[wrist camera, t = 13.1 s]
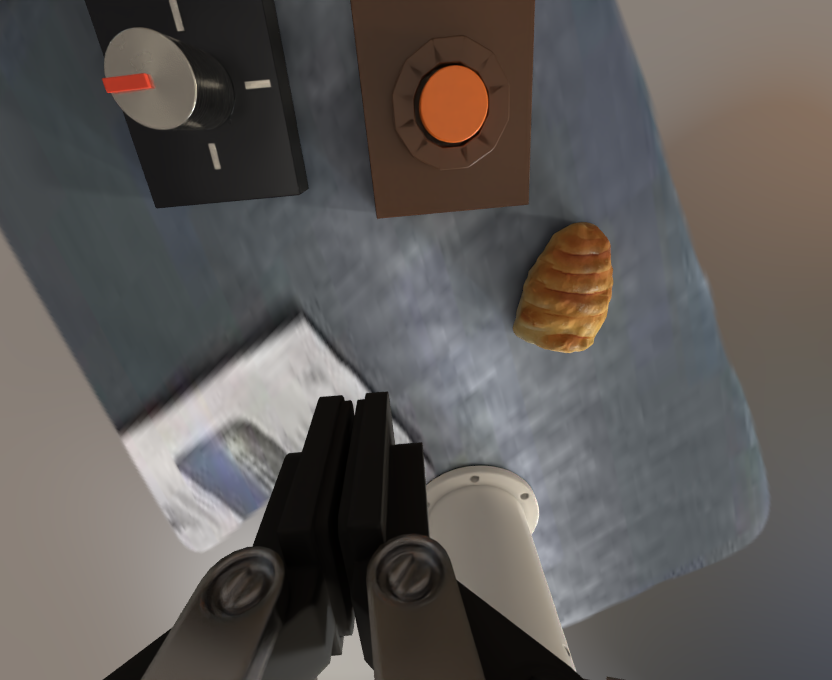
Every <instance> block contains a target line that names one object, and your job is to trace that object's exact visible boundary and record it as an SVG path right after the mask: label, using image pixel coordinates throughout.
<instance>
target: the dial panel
mask: <svg viewBox="0 0 832 680" xmlns="http://www.w3.org/2000/svg"><path fill="white" fill-rule="evenodd" d="M85 2H86V5H87V8H88V11H89V14H90V17H91V20H92V23H93V26H94V29H95V32H96V34H97V37H98V40H99V43H100V46H101V49H102V52H103V55H104V58H105V53H106V50H107V47H108V45H109V44H110V42H111V41H112V39H113V38H114V37H115V36H116V35H117V34H119V33H120V32H122V31H124V30H126V29H129V28H134V27H143V28H149V29H153V30H155V31H158V32H160V33H162V34H165V35H167V36H170V37H172V38H175V39H177V40H179V41H182V42H184V43H187V44H189V45H192V46H194V47H196V48H199V49H201V50H204V51H206V52H207V53H209V54H211V55H212V56H213V57H215V58H216V59H217V60H218V61H219V62H220V63H221V64H222V66H223V67H224V69H225V70H226V72H227V73H228V75H229V78H230V80H231V83H232V86H233V91H234V104H233V109H232V112H231V114H230V116H229V118H228V119H227V120H226V121H225V122H224V123H223V124H222V125H221V126H219V127H217V128H215V129H211V130H156V129H152V128H148V127H146V126H143V125H141V124H139V123H138V122H136V121H135V120H133V119H132V118H131V117H129V116H128V115H127V114H126V113H125V112H124V111H123V113H124V116H125V119H126V122H127V125H128V128H129V131H130V134H131V137H132V140H133V142H134V145H135V148H136V151H137V154H138V157H139V160H140V163H141V166H142V169H143V172H144V175H145V178H146V180H147V183H148V186H149V189H150V192H151V195H152V198H153V201H154V204H155V207H156V208H166V207H176V206H187V205H198V204H208V203H219V202H230V201H240V200H251V199H262V198H273V197H283V196H294V195H300V194H302V193H303V192H305V191H306V190H308V189H309V187H308V182H307V176H306V171H305V165H304V160H303V155H302V149H301V144H300V138H299V133H298V128H297V122H296V117H295V112H294V106H293V101H292V95H291V90H290V85H289V79H288V74H287V68H286V63H285V58H284V52H283V47H282V41H281V36H280V31H279V25H278V20H277V15H276V9H275V4H274V0H85Z"/></svg>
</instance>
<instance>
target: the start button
mask: <svg viewBox="0 0 832 680" xmlns="http://www.w3.org/2000/svg"><path fill="white" fill-rule="evenodd" d="M487 109H488V96H487V91H486V88H485V86H484V83H483V82H482V80H481V78H480V77H479V76H478V75H477V74H476V73H475V72H474V71H472V70H471V69H469V68H467V67H464V66H459V65H451V66H447V67H444V68H442V69H440V70H438V71H437V72H435V73H434V74H433V75H432V76H431V77H430V78H429V80H428V81H427V83H426V84H425V86H424V88H423V90H422V92H421V95H420V100H419V114H420V118H421V121H422V124H423V125H424V127H425V129H426V130H427V131H428V132H429V134H431V135H432V136H433V137H435V138H436V139H438V140H441V141H444V142H450V143H456V142H461V141H464V140H466V139H468V138H470V137H471V136H473V135H474V134H475V133H476V132H477V131H478V130H479V128H480V127H481V126H482V124H483V122H484V120H485V117H486V114H487Z"/></svg>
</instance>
